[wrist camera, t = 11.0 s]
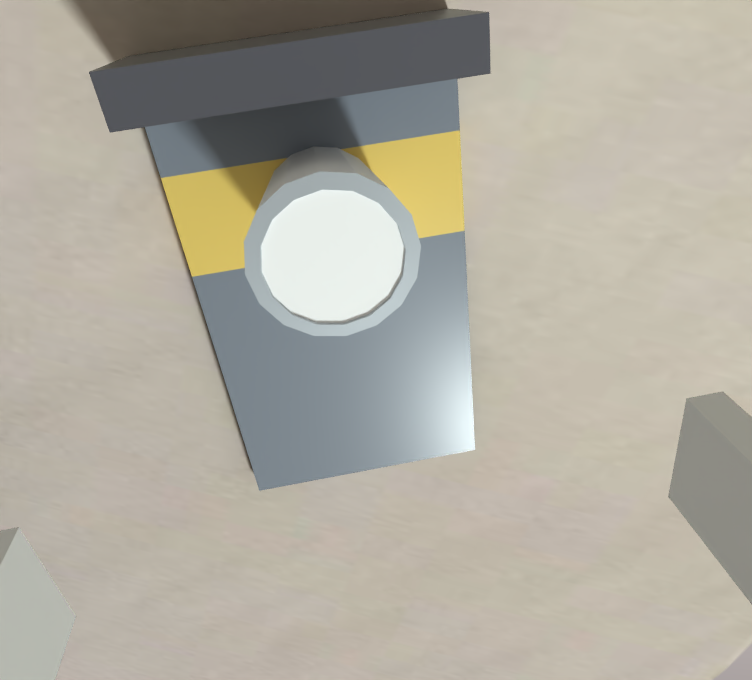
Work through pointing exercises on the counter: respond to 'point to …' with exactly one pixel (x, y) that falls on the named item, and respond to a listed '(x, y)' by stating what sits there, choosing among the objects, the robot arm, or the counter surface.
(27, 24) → the counter surface
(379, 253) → the shot glass
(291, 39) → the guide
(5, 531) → the robot arm
